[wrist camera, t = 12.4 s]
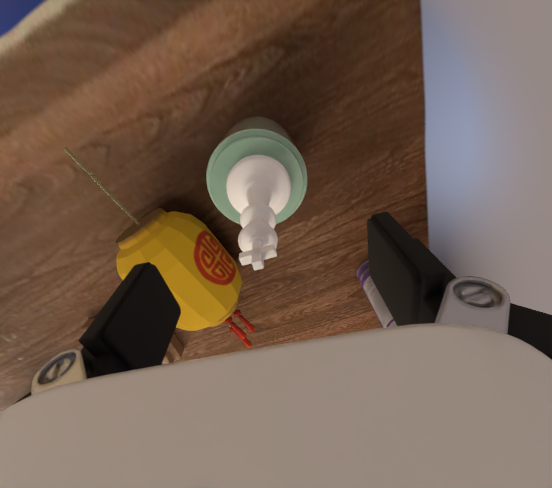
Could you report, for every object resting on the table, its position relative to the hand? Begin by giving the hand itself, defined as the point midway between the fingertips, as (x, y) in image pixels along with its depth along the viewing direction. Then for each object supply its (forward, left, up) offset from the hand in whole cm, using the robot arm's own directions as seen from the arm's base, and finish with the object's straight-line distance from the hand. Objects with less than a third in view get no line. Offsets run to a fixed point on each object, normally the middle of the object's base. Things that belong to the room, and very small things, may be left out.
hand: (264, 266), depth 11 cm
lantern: (+13, -5, -19) cm, 24 cm away
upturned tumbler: (0, 0, -19) cm, 19 cm away
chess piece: (0, 0, -10) cm, 10 cm away
